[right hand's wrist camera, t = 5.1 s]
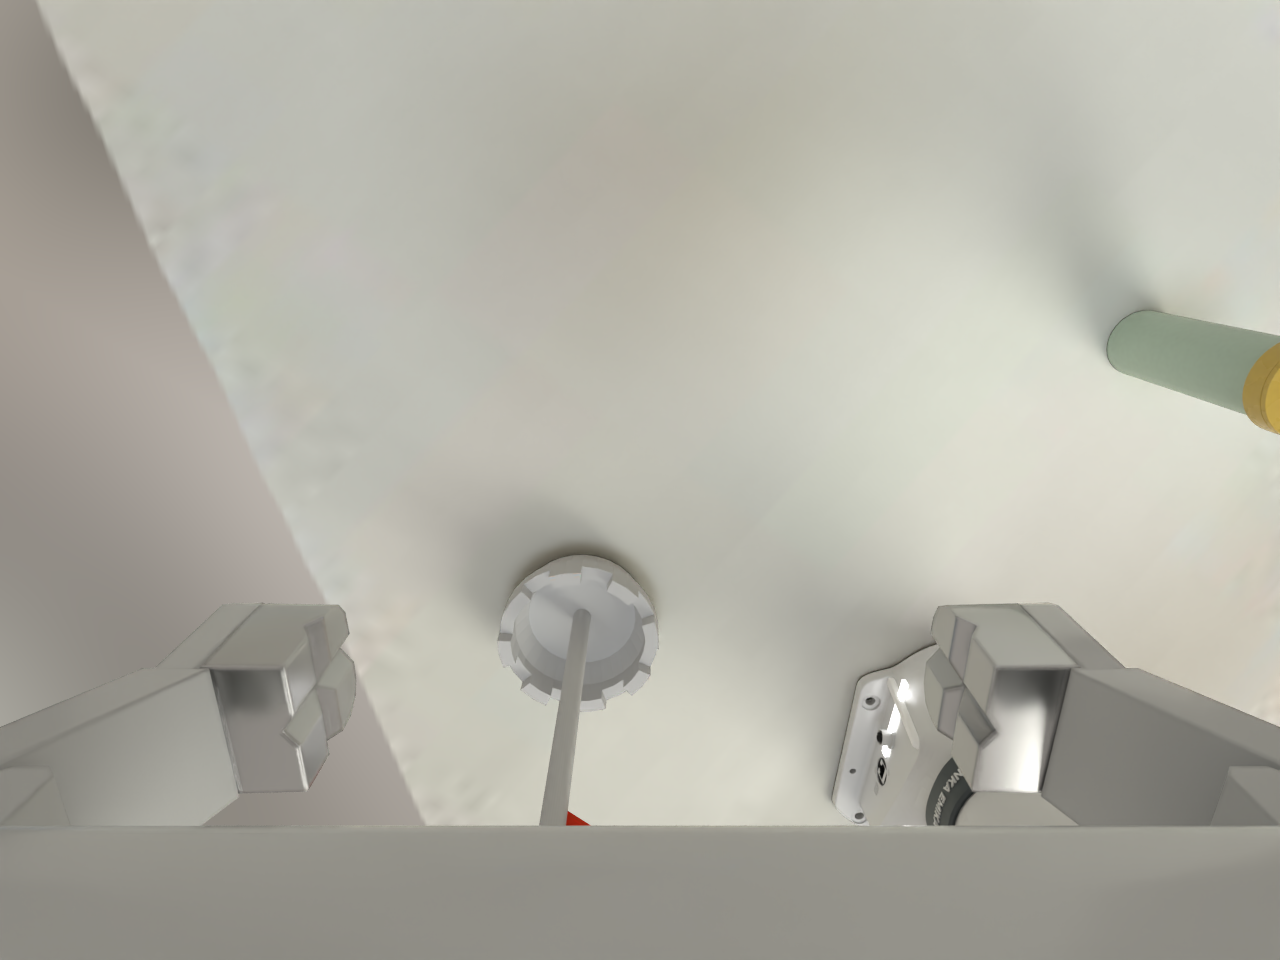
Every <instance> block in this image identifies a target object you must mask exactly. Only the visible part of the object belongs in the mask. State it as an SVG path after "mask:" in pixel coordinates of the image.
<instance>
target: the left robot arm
mask: <svg viewBox="0 0 1280 960" xmlns="http://www.w3.org/2000/svg"><path fill="white" fill-rule="evenodd" d="M939 648H940V647H939V646H938V644H936V645H933V646H930V647H928V648H925V649H923V650H921V651H919V652H917V653H915V654H913V655H912V656H910V657H908V658H907V659H905V660H904V661H902V662H901V663H899V664H898V665H896V666H894V667H892V668H888V669H884V670H880V671H876V672H873V673H870V674H867V675H865V676H863V677H862V678H861V679H860V680H859V681H858V683H857V686H856V690H855V695H854V699H853V704H852V708H851V713H850V718H849V722H848V727H847V731H846V736H845V740H844V745H843V749H842V754H841V758H840V763H839V768H838V772H837V777H836V781H835V786H834V791H833V795H832V802H833V804H834V806H835V808H836V809H837V810H838V812H839V813H840V814H842V815H843V816H844V817H845V818H846V819H848V820H849V821H851V822H852V823H854V824H856V825H858V826H1079V825H1078V824H1077V823H1075V822H1074V821H1073V820H1071V819H1070V818H1069V817H1067V816H1066V815H1065V814H1063V813H1062V812H1061V811H1059V810H1058V809H1057V808H1055V807H1054V806H1053V805H1052V804H1050V803H1049V802H1048V801H1046V800H1045V799H1044V798H1042V797H1041V793H1007V792H972V790H971V788H970V787H969V785H968V783H967V781H966V780H965V778H964V776H963V775H962V773H961V771H960V769H959V768H958V766H957V764H956V763H955V761H954V759H953V757H952V756H951V749H952V743H953V740H951V739H950V738H948V737H946V736H945V735H943V734H942V733H940V732H938V731H937V729H936V727H935V726H934V724H933V722H932V720H931V718H930V716H929V712H928V709H927V706H926V703H925V692H924V675H925V667H926V661H927V660H928V659H929V658H930V657H931V656H932V655H933V654H934V653H935V652H936V651H937V650H938V649H939ZM869 697H872V699H870V700H866V699H867V698H869ZM859 812H860V813H859ZM856 813H858V814H856Z"/></svg>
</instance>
